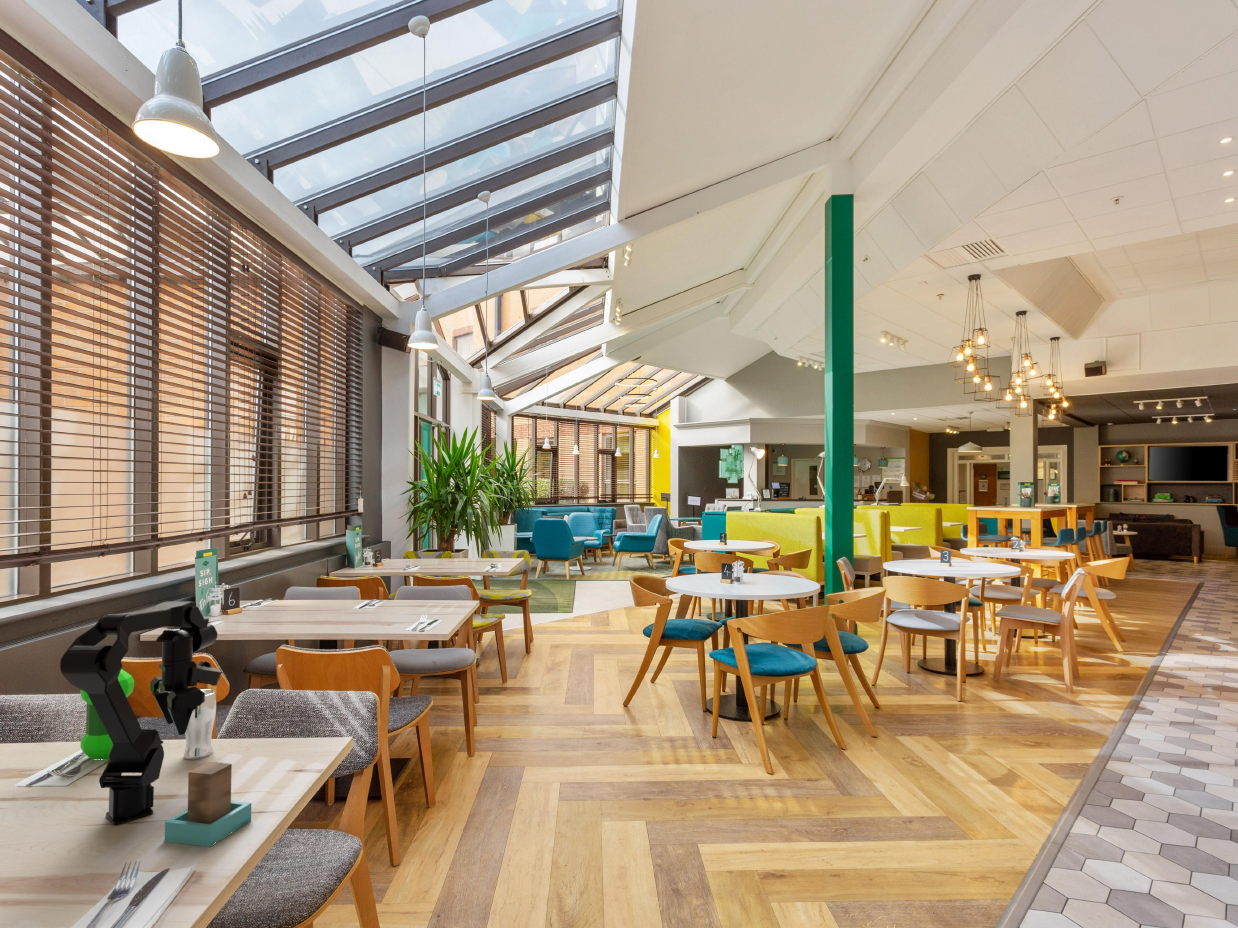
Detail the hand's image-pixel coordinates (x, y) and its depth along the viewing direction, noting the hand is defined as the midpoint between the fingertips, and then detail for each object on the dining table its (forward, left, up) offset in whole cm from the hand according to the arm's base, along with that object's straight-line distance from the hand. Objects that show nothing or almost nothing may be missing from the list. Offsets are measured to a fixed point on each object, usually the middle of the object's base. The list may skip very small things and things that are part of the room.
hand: (176, 728), depth 150 cm
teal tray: (-3, -28, -12) cm, 31 cm away
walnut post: (-3, -28, -11) cm, 31 cm away
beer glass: (+9, +15, -12) cm, 21 cm away
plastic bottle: (-6, +31, -12) cm, 33 cm away
